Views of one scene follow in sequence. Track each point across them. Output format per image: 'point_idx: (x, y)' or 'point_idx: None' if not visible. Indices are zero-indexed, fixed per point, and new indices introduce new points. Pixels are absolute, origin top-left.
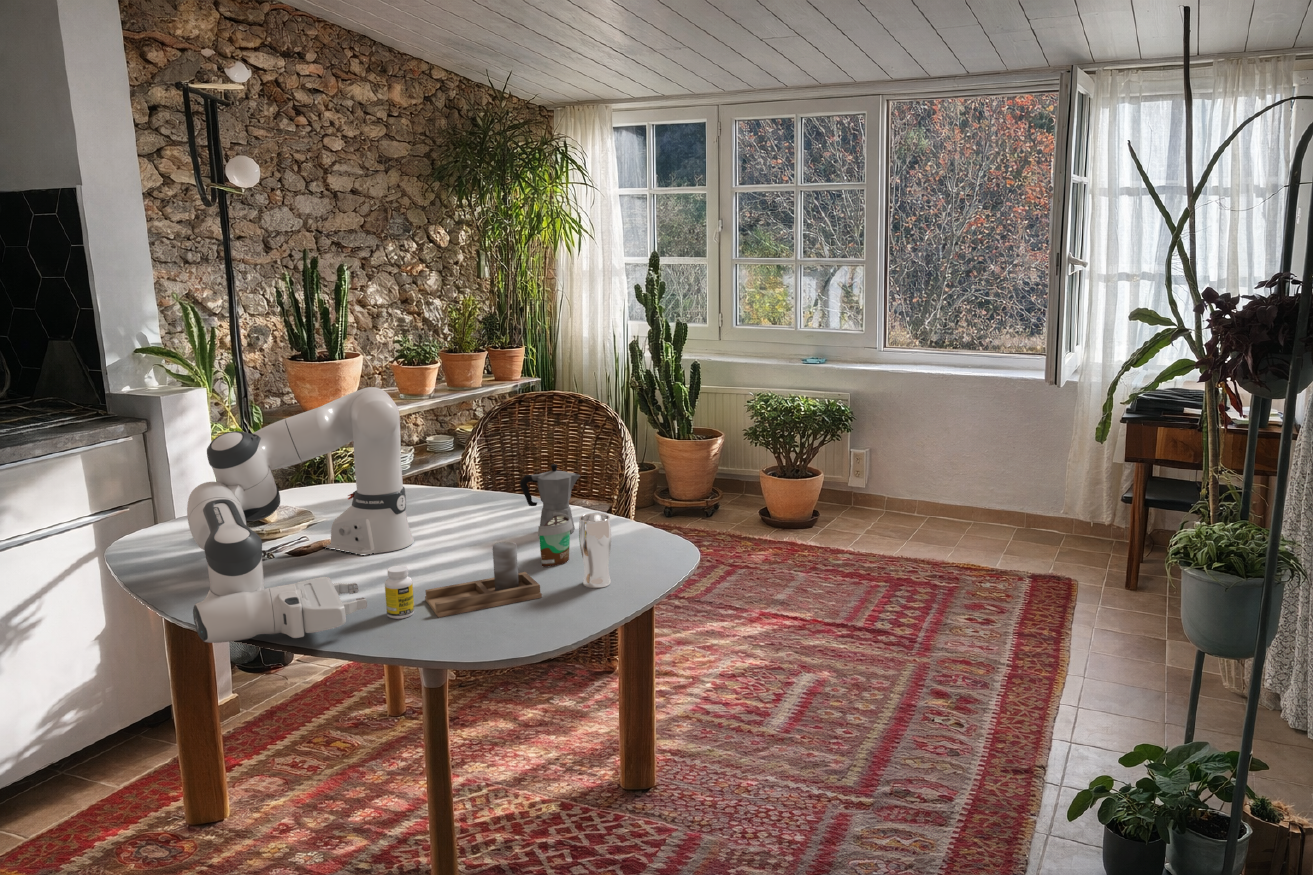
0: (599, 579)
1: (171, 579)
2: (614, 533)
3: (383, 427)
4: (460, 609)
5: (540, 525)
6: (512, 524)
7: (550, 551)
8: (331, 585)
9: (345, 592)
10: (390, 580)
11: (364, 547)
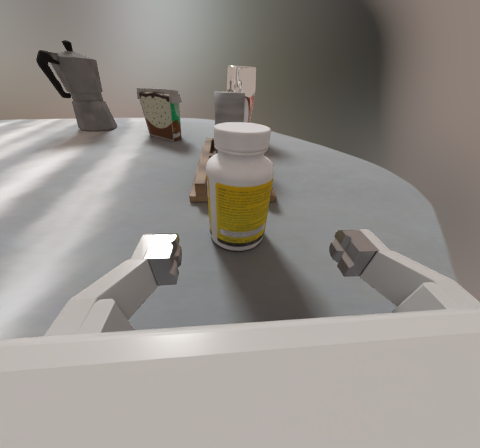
0: None
1: None
2: (144, 121)
3: None
4: None
5: (84, 121)
6: (29, 132)
7: (178, 123)
8: (149, 345)
9: (145, 297)
10: (251, 163)
11: None
